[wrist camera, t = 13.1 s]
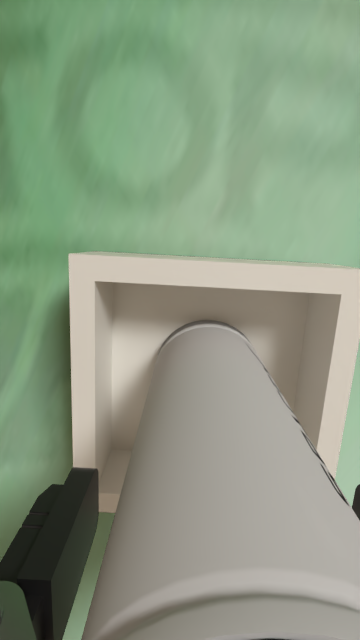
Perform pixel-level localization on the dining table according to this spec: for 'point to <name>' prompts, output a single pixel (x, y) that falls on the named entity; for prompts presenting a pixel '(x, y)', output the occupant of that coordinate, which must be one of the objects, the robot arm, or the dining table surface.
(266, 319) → the bin
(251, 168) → the dining table surface
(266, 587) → the travel mug
